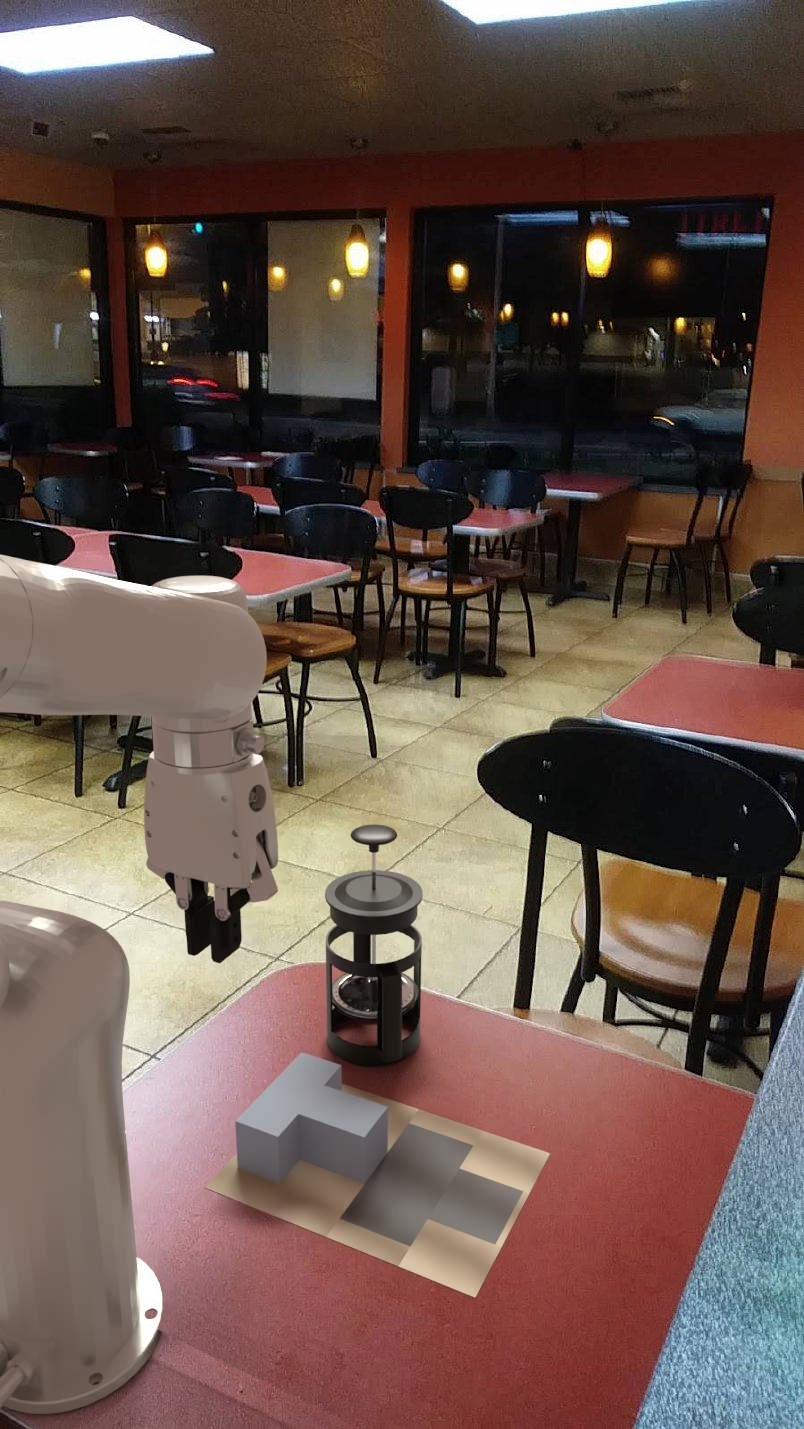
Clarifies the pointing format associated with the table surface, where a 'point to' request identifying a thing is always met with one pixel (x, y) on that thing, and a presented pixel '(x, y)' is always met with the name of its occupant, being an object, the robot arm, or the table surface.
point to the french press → (374, 957)
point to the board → (409, 1196)
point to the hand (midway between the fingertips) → (214, 949)
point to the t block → (311, 1125)
